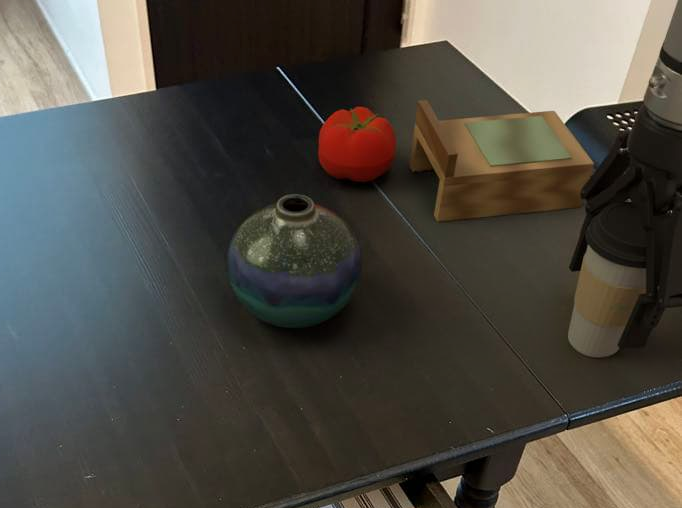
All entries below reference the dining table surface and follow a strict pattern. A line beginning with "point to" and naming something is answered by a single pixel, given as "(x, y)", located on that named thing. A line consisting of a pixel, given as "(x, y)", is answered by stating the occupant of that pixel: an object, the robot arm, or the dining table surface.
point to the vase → (294, 263)
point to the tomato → (356, 145)
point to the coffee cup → (609, 279)
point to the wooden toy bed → (499, 163)
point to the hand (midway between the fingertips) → (604, 306)
